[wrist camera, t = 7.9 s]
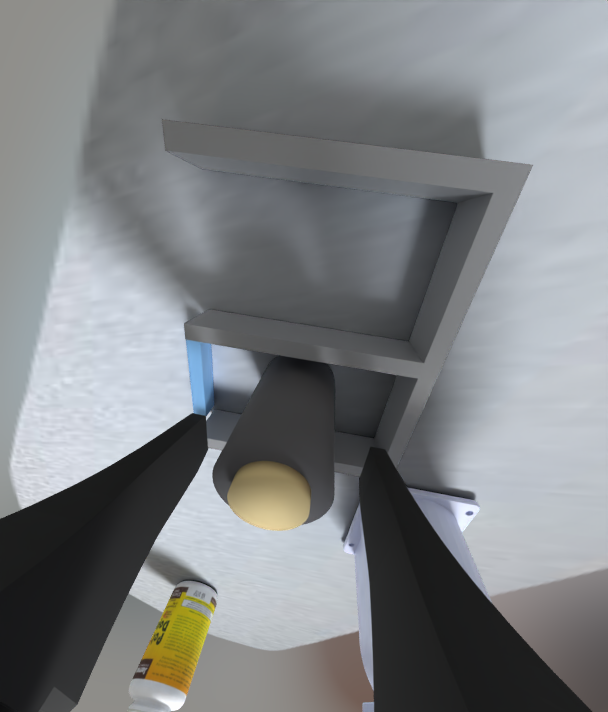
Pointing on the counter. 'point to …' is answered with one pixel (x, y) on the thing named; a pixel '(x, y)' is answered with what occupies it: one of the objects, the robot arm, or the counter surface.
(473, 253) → the grey divided frame
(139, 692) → the supplement bottle
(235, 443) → the plug
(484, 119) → the counter surface
